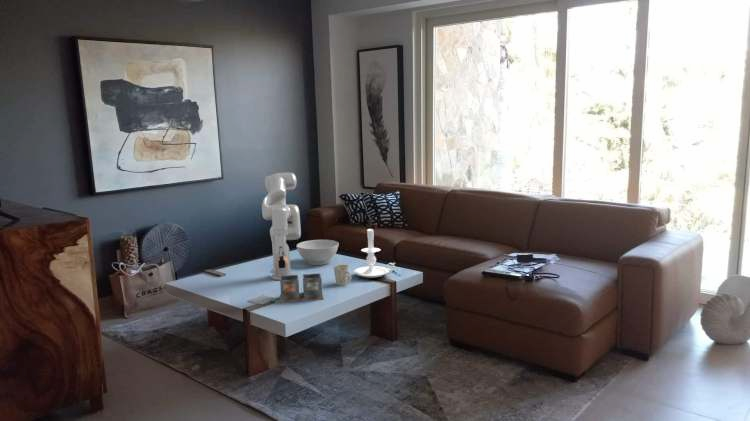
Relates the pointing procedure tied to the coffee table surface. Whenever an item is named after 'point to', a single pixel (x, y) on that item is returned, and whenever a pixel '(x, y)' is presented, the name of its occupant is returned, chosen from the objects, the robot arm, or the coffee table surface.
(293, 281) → the dark grey boxy container
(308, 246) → the decorative bowl
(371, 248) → the candlestick
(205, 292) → the coffee table surface
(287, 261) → the ball
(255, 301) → the mat
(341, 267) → the mug
